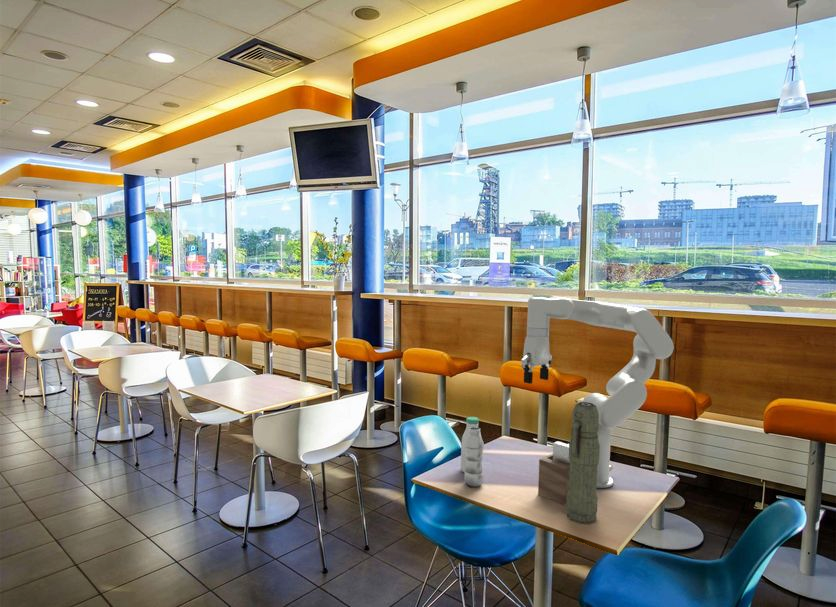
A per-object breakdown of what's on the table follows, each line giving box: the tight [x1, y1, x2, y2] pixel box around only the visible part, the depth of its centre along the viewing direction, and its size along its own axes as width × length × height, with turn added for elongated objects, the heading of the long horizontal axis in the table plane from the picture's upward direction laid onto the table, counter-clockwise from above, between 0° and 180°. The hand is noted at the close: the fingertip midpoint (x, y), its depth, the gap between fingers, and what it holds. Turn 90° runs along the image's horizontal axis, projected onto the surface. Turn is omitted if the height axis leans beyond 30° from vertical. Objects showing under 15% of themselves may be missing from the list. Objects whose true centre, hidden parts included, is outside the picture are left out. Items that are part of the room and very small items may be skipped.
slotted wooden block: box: [537, 453, 570, 505], centre depth 170 cm, size 10×10×12 cm
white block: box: [552, 441, 570, 465], centre depth 170 cm, size 2×6×10 cm, turn 43°
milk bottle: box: [460, 416, 482, 474], centre depth 190 cm, size 8×8×20 cm
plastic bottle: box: [463, 426, 485, 487], centre depth 177 cm, size 6×7×20 cm
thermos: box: [566, 401, 600, 525], centre depth 155 cm, size 9×12×35 cm
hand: (536, 381), depth 179 cm, fingers open, 9 cm apart
